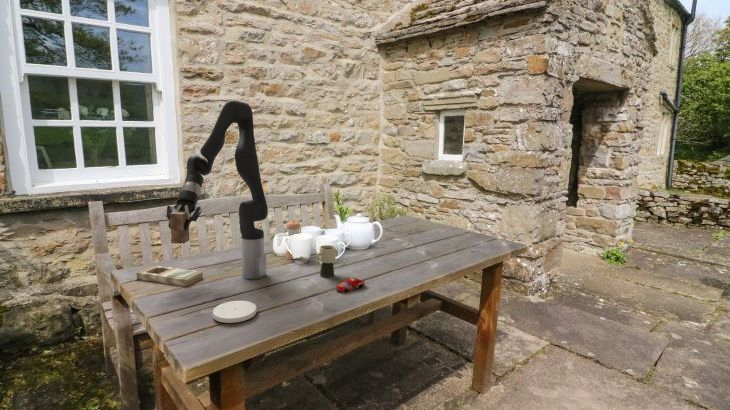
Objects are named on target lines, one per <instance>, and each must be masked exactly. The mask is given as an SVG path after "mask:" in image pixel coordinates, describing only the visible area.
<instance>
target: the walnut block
mask: <svg viewBox="0 0 730 410" xmlns="http://www.w3.org/2000/svg"><path fill="white" fill-rule="evenodd" d="M186 217H187V212H180V211H178V212H174V211H173V212H172V213H171V214H170V221H169V222H170V224H171V229H170V238H171V241H170V242H171V243H170V244H186V243H188V242H189V241H190V227H189V228H188V229H187V230H184V228H183V226H184V223H185V220H187V219H186Z"/></svg>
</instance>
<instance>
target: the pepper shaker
mask: <svg viewBox="0 0 730 410" xmlns="http://www.w3.org/2000/svg"><path fill="white" fill-rule="evenodd" d="M285 227H286V229H287V237H288V236H291V235H294V234H299V235H300V228H301V223H300V222H298V221H296V220H294V219H293V220H291V221H288V222H287V223H286V225H285ZM285 258H286V259H287V258H288V259H287V260H291V259H293V257H292V255H291V254H290V252H289V251H288V250H287V249H286V251H285Z"/></svg>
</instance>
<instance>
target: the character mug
mask: <svg viewBox="0 0 730 410" xmlns="http://www.w3.org/2000/svg"><path fill="white" fill-rule="evenodd" d="M338 252H339V250H338V249H336V246H335V245H330V244H328V245H327V244H325V245H321V246H319V252H317V253H316V260H317V261H320V262H321V264H320V271H319V275H320V276H323V277H333V276H335V268H334V263H335V262H336V258H337V257H338V255H339V253H338Z"/></svg>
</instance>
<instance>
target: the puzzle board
mask: <svg viewBox="0 0 730 410" xmlns="http://www.w3.org/2000/svg"><path fill="white" fill-rule="evenodd" d="M135 275H136V280H139V281H146V282H147V281H148V282H155V283H161V284H168V285H169V284H170V285H175V286H180V287H181V286H183V287H187V286H189V285H192V284H194V283H196V282H198V281H200V280H202V279H203V278H204V272H203V271H199V270H192V269H185V268H177V267H168V266H162V265H152V266H150V267H147V268H144V269H142V270H140V271H138V272H136V274H135Z"/></svg>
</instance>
